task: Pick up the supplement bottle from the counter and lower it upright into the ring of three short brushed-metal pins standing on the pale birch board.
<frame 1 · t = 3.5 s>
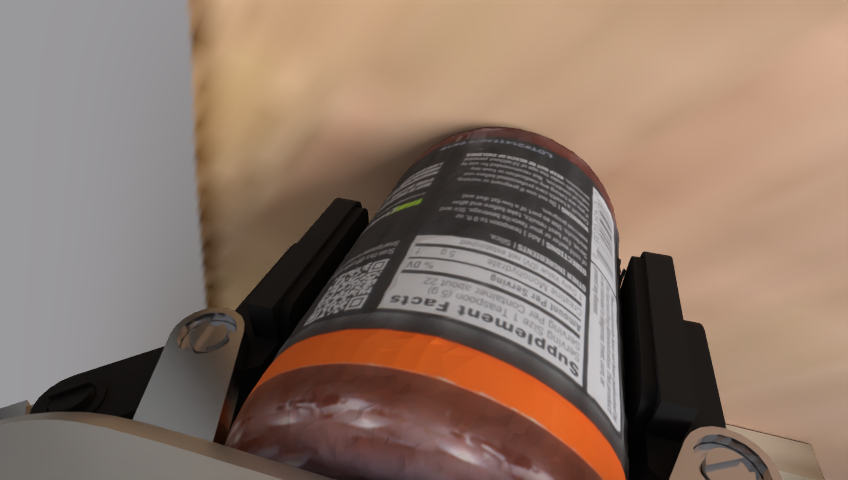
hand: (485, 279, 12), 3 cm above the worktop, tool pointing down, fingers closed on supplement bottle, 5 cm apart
supplement bottle: (504, 217, 14), on the worktop, touching gripper
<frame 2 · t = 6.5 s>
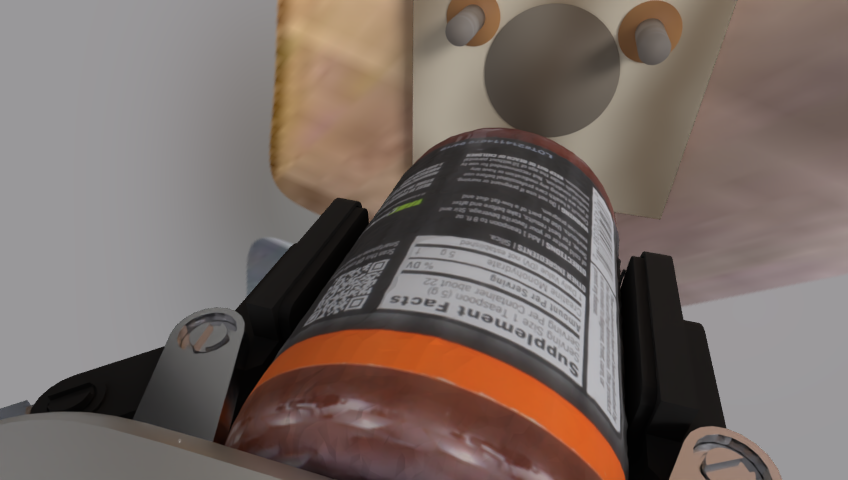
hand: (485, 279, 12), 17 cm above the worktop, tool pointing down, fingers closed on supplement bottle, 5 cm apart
pin board: (551, 67, 25), on the worktop
supplement bottle: (504, 217, 14), point 15 cm above the worktop, touching gripper
when the fingers open (5 cm above the worktop, at t = 9.4 s): supplement bottle drops 1 cm, resting on pin board.
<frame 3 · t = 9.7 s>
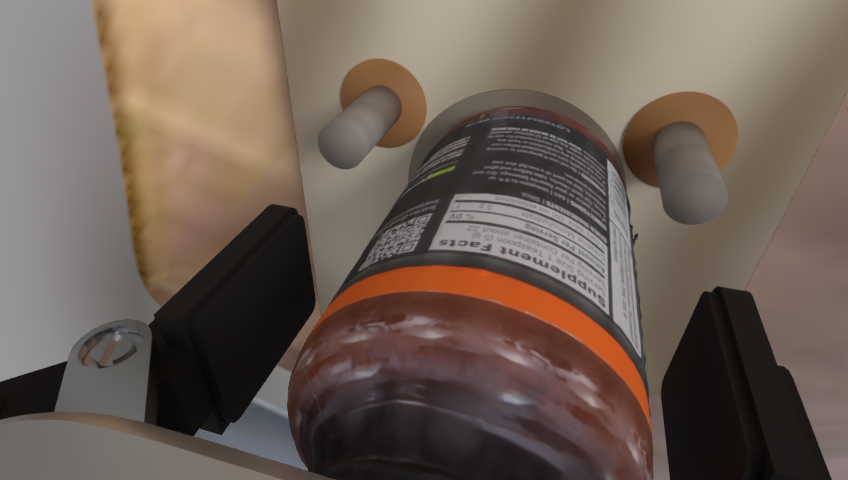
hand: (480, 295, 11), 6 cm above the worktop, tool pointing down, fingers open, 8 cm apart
pin board: (516, 177, 16), on the worktop
supplement bottle: (521, 193, 15), point 1 cm above the worktop, touching pin board
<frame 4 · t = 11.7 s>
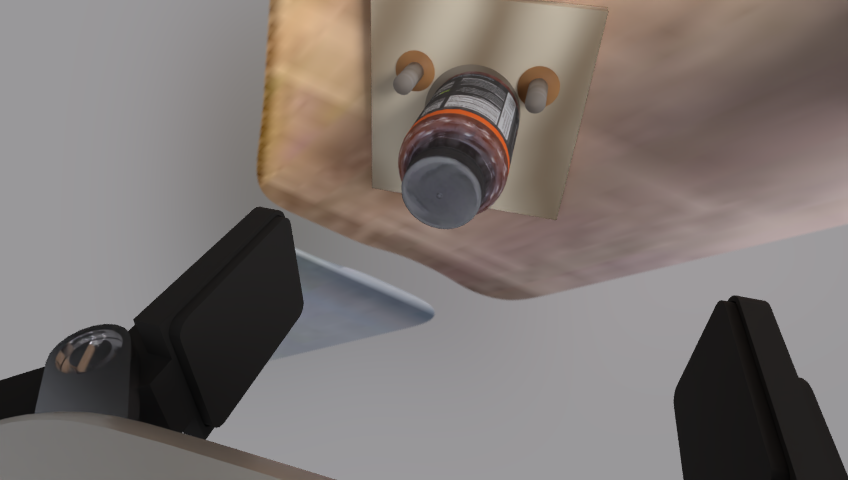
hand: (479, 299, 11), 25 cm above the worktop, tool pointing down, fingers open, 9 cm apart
pin board: (474, 107, 34), on the worktop
supplement bottle: (476, 112, 33), point 1 cm above the worktop, touching pin board
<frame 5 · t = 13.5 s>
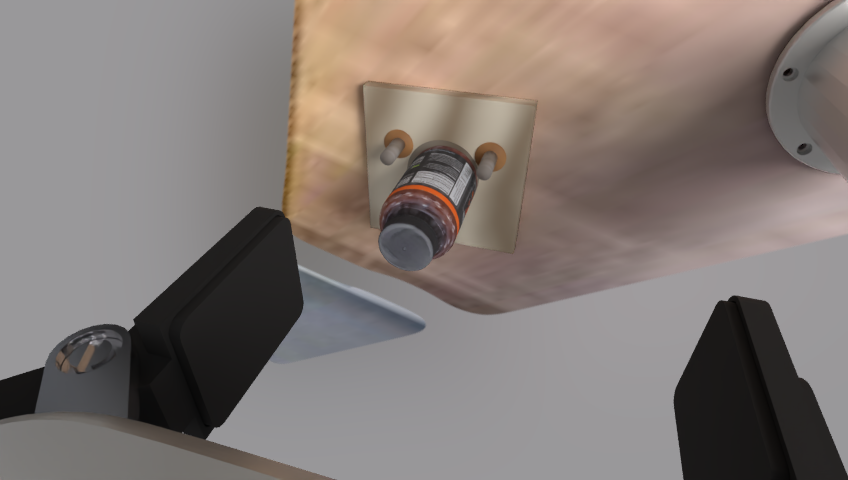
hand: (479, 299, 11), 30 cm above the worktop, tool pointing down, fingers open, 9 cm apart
pin board: (446, 168, 44), on the worktop
supplement bottle: (446, 174, 43), point 1 cm above the worktop, touching pin board
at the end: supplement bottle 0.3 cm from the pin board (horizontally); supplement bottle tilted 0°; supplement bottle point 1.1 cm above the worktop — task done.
